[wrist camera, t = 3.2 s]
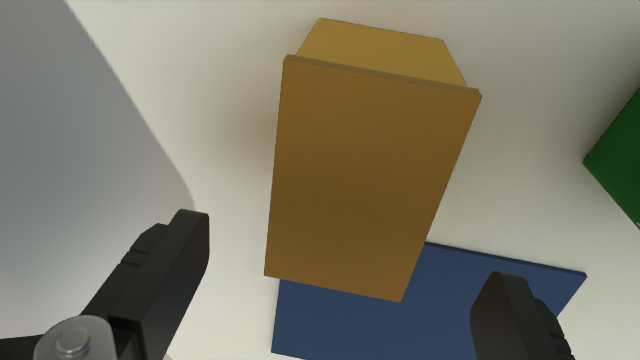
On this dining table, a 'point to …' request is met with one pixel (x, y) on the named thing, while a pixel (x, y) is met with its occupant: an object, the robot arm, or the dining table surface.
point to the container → (363, 156)
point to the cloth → (406, 310)
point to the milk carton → (620, 160)
